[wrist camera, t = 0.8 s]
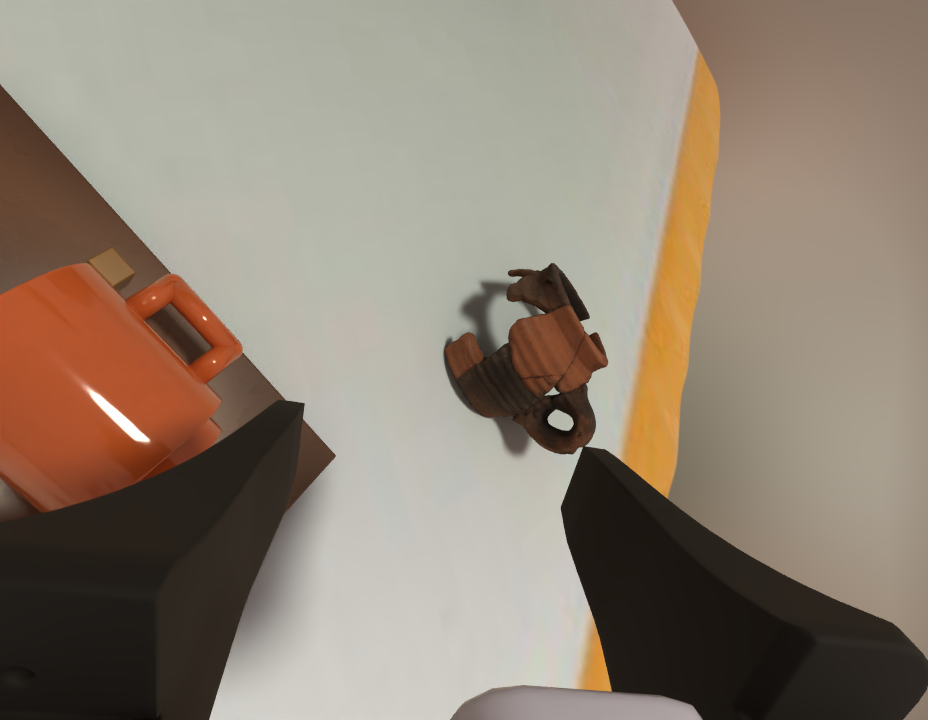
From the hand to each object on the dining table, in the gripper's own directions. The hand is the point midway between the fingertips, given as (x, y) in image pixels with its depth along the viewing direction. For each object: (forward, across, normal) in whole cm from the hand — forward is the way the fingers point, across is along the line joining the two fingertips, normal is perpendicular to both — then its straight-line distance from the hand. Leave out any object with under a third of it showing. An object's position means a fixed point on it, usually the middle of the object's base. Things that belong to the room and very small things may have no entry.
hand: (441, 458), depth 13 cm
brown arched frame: (+21, -6, +6) cm, 23 cm away
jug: (+6, +13, 0) cm, 14 cm away
